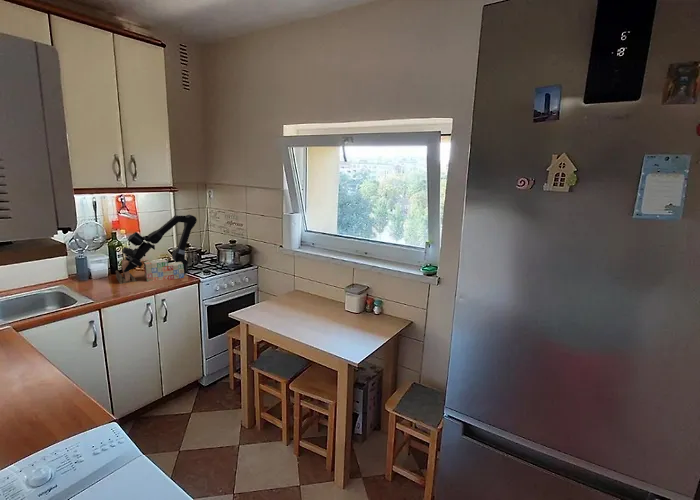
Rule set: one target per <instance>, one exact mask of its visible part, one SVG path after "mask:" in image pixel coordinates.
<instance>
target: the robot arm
mask: <svg viewBox="0 0 700 500" xmlns="http://www.w3.org/2000/svg"><path fill="white" fill-rule="evenodd" d="M197 221H198V220H197V217H196V216H194V215H192V214H186V215H176V214H175V215H174V216H172V217H171V218H170V219H169V220H168V221H166V222H165V224H163V225H162V226H161V227H160V228H158V229H157V230H153V231H152V232H150V233H149V234H148V235H144V236H142V235H140V234H139V232H137V231H135V232H134V233H131V235H129V237H128V238H127V241H128V242H129V243H131V244H132V245H133V246H135V247H137V246H138V247H137V248H134V249H133V248H130V247H126V246H124V247H123V249H122V252H121V253H122V254H124V258H125V259H126V260H127V261H128V263H129V264H128V266H127V267H126V268H125V270H124V272H127V271H129V272H130V271H132V270H133V269H135V268H141V267H142V266H143V262H142V261H141V260H142V259H143V258H144V257H146V254H148V252H149V251H150V250H151V249H153V250H154V251H155V250H156V248H155V247H156V244H158V243H159V242H160V241H161V240H162V238H163V237H164V235H165V234H166V233H167V232H169V231H170V230H171V229H172V228H174V227H175V226H176V225H177V224H178V223H183V230H182V232H181V235H180V240H179V243H178V245H177V248H176V249H173V250H172V254H171V258H172V260H173V261H175V262H181V263H183V266H184V275H185V274H189V273H190V271H189V269H188V268H189V267H188V264H189V261H188V260H187V259H186V258H185V257H186V247H187V244H188V241H189V239H190V238H189V237H190V234H191V232H192V229H193V228H194V227H195V225H196V223H197ZM188 272H189V273H188Z"/></svg>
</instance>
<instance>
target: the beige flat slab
mask: <svg viewBox="0 0 700 500" xmlns="http://www.w3.org/2000/svg"><path fill="white" fill-rule="evenodd" d="M128 264H129V263H128V261H127V260H126V258H125V259H121V266H122V267H121V270H122V276H123V277H124V279H125V281H130V273H131V272H130V270H129V271H127V272H124V270H125V268H126V267H127V266H128Z"/></svg>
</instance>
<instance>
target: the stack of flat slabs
mask: <svg viewBox="0 0 700 500" xmlns="http://www.w3.org/2000/svg"><path fill="white" fill-rule="evenodd" d="M129 273H130V281H125V279H124V277H123V274H121V273H120V272H119V271H118V270H115V277H116V278H115V279H116V281H118V282H119V284H120V285H122V284H127V283H128V284H129V283H134V282H135V283H136V282H138V280H137V279H136V278H135V276H133V275H132V273H131V272H129Z"/></svg>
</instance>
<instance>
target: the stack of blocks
mask: <svg viewBox="0 0 700 500" xmlns="http://www.w3.org/2000/svg"><path fill="white" fill-rule="evenodd" d="M143 271H144V272H143V273H144V279H145V280H146V282H147V283H148V282H154V281H160V280H161V281H162V280H168V281H171V280H176V279H177V280H178V279H184V278H185V274H184V266H183V263H181V262H176V261H175V262H169V261H168V260H166V259H165V258H163V259H156V260H148V261H143Z"/></svg>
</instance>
